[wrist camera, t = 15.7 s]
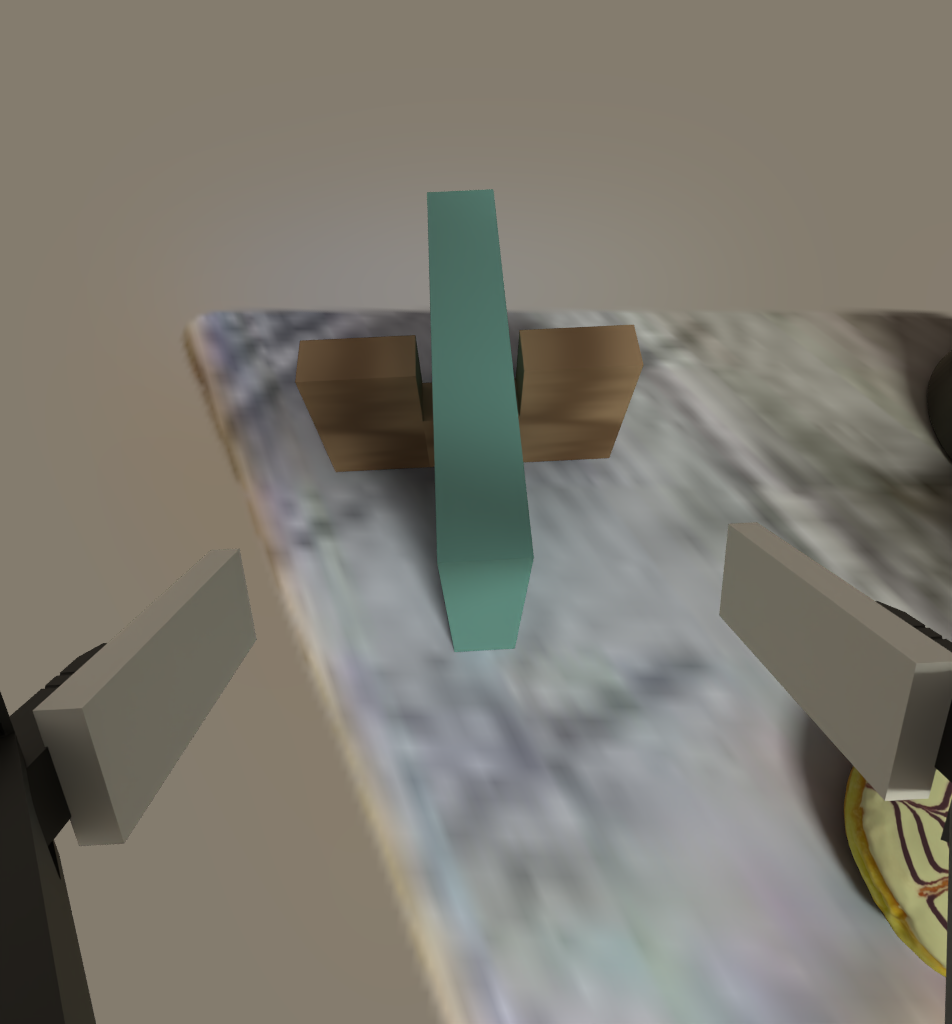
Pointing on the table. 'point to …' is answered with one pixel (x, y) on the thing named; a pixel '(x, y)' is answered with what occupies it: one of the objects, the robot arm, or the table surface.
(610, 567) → the table surface
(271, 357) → the table surface
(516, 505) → the teal upright panel
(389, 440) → the walnut slotted plate
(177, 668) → the robot arm
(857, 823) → the decorated donut
